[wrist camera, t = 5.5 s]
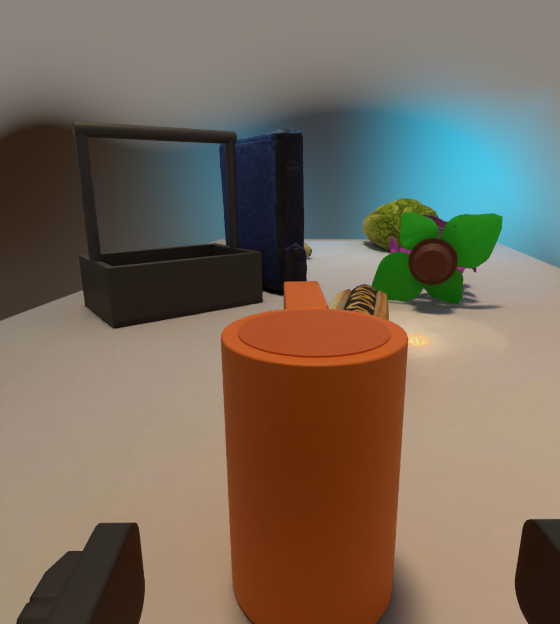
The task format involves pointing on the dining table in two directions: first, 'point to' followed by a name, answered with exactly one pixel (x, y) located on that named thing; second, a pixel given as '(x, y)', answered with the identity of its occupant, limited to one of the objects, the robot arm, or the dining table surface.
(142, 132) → the basket
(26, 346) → the dining table surface
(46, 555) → the dining table surface
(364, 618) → the measuring cup
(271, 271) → the book
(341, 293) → the hot dog
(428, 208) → the lettuce
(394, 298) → the potted plant
